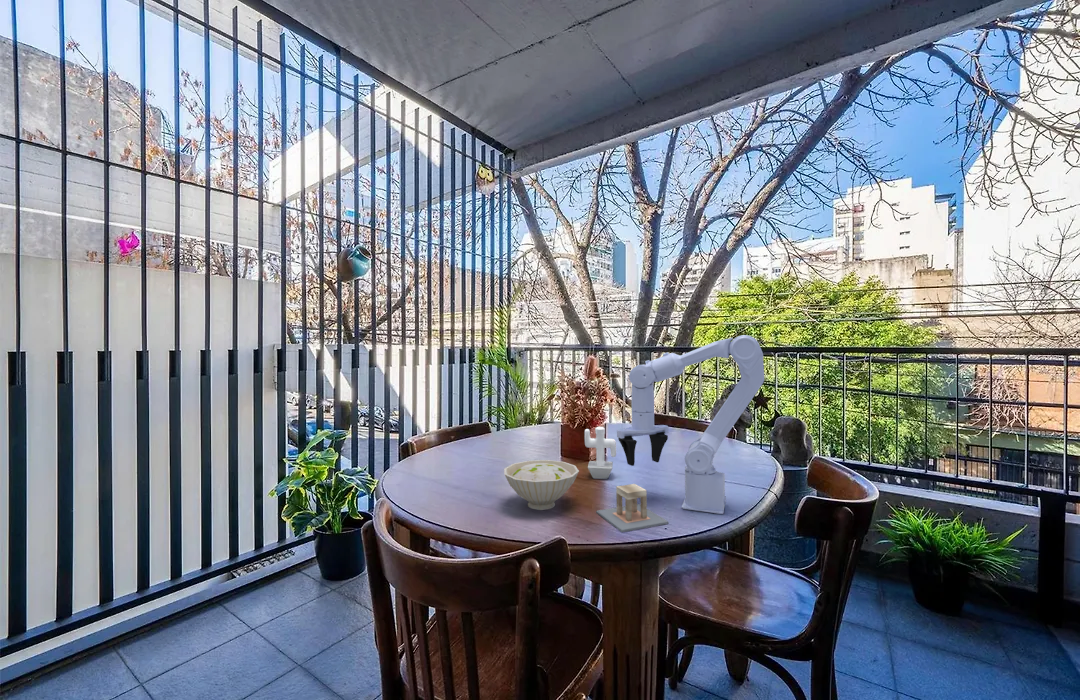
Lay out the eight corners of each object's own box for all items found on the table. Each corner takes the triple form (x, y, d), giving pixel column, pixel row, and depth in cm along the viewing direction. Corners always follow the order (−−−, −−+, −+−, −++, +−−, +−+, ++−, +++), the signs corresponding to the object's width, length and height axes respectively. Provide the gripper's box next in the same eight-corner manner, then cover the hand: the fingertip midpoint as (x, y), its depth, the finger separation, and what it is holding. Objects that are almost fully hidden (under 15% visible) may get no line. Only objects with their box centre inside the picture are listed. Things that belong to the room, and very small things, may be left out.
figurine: (616, 480, 135) (615, 430, 134) (584, 479, 136) (583, 429, 136) (616, 473, 142) (615, 425, 141) (585, 472, 143) (585, 424, 143)
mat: (639, 505, 115) (639, 503, 115) (668, 523, 103) (668, 521, 103) (596, 512, 110) (596, 510, 110) (621, 532, 99) (621, 529, 99)
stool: (634, 510, 110) (634, 483, 110) (646, 518, 105) (646, 490, 105) (616, 513, 108) (616, 486, 108) (627, 521, 104) (627, 493, 103)
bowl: (494, 497, 122) (493, 460, 122) (560, 488, 129) (560, 452, 129) (517, 524, 104) (516, 481, 104) (593, 512, 111) (592, 471, 111)
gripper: (656, 406, 125) (657, 456, 126) (610, 410, 120) (611, 462, 120) (673, 410, 119) (673, 462, 119) (625, 414, 113) (625, 469, 114)
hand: (643, 463), depth 119 cm, fingers open, 7 cm apart
